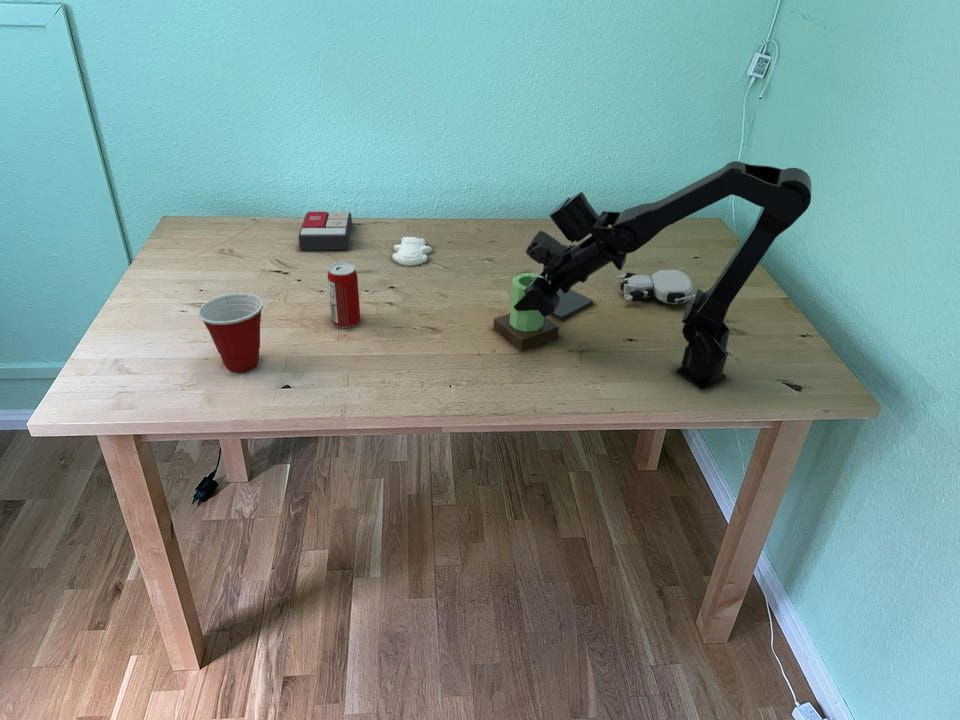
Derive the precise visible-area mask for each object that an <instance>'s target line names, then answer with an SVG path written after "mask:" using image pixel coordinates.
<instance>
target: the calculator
mask: <svg viewBox="0 0 960 720" xmlns="http://www.w3.org/2000/svg"><path fill="white" fill-rule="evenodd" d="M352 227H353V217H352V213H351V212H349V211H329V212H328V211H308V212H306V213H305V216H304V219H303V222H302V225H301V228H300V230H299V233H298V244H299V251H348V250H349V246H350V238H351V232H352Z"/></svg>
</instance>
